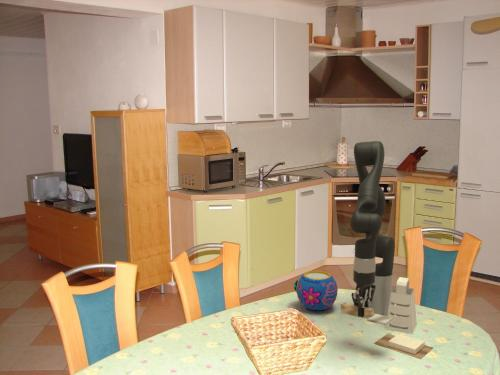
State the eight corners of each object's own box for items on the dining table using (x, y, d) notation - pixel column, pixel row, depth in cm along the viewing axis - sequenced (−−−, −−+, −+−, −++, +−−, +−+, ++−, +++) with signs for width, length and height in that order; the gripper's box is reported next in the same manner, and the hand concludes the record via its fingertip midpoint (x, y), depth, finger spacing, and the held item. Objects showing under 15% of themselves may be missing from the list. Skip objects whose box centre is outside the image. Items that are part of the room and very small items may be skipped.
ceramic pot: (314, 297, 241) (314, 265, 238) (345, 308, 228) (346, 275, 225) (287, 307, 229) (287, 274, 227) (319, 319, 216) (319, 284, 214)
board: (387, 336, 201) (387, 333, 201) (433, 350, 189) (433, 347, 189) (373, 346, 193) (373, 343, 193) (420, 361, 181) (420, 359, 181)
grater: (384, 331, 205) (386, 282, 202) (390, 321, 214) (391, 274, 211) (412, 336, 200) (415, 286, 197) (416, 326, 210) (419, 277, 206)
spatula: (338, 314, 192) (338, 305, 192) (347, 309, 196) (347, 301, 196) (385, 325, 180) (385, 316, 179) (393, 319, 184) (393, 310, 184)
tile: (398, 333, 196) (424, 341, 189) (398, 338, 196) (424, 346, 190) (388, 341, 190) (415, 349, 183) (388, 346, 190) (414, 354, 184)
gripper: (364, 262, 193) (363, 307, 196) (344, 271, 183) (343, 318, 186) (383, 266, 189) (381, 312, 191) (364, 276, 178) (362, 324, 181)
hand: (362, 315), depth 189 cm, fingers closed on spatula, 2 cm apart
